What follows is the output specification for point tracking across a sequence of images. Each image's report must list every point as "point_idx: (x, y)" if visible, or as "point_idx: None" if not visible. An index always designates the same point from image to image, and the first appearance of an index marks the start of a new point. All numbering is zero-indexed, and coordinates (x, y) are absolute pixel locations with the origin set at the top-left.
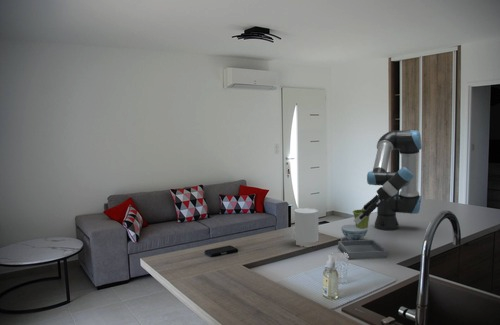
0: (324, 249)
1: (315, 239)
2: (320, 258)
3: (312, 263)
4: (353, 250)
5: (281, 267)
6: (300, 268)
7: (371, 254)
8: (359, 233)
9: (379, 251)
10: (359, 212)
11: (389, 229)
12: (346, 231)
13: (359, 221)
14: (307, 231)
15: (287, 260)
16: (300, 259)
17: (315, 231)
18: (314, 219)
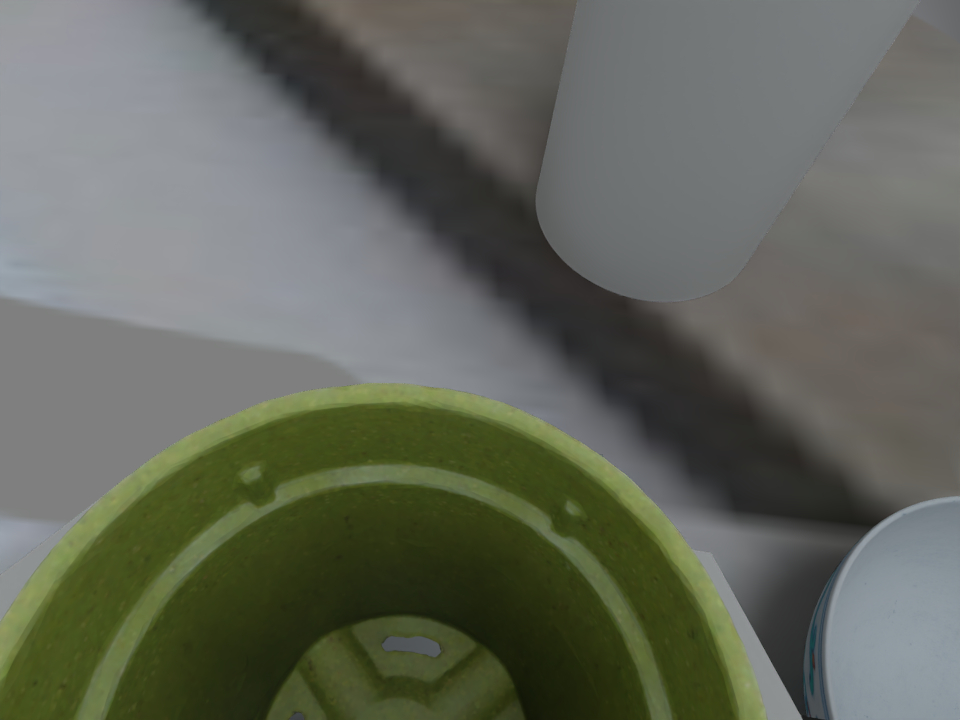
0: (493, 338)
1: (592, 222)
2: (224, 282)
3: (103, 214)
4: (401, 638)
5: (66, 33)
6: (6, 131)
7: None
8: None
9: None
10: (675, 700)
11: None
12: (842, 560)
13: None
14: (565, 76)
15: (212, 69)
16: (221, 143)
17: (616, 155)
18: (648, 4)
